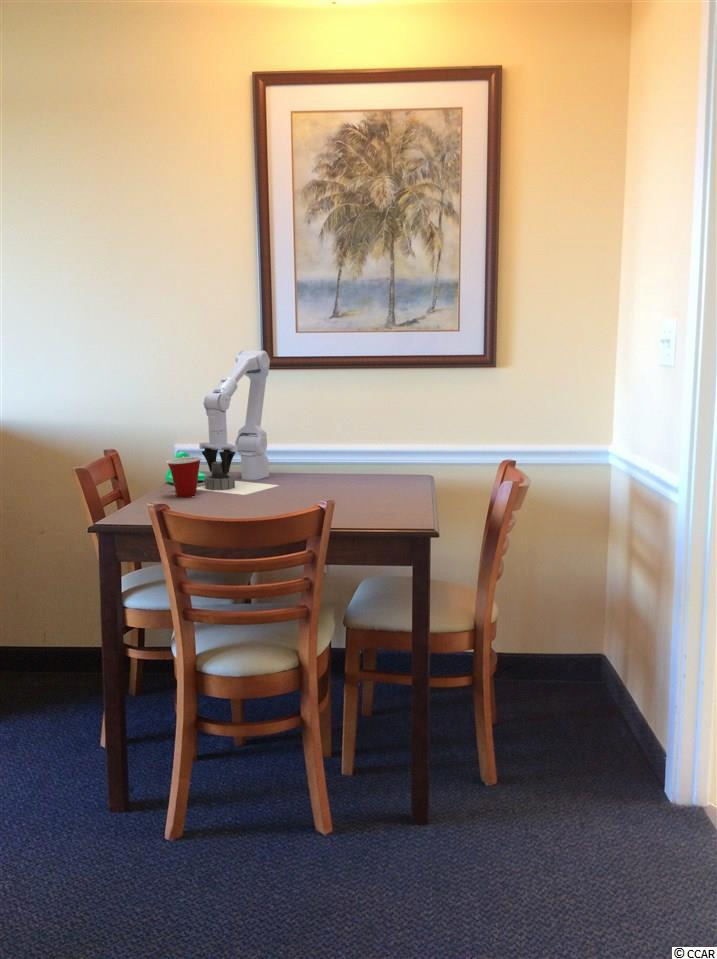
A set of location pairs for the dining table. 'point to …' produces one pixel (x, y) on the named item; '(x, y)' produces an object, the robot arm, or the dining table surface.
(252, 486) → the board
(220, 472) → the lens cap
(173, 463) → the plastic cup
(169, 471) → the camera mount
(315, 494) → the dining table surface
